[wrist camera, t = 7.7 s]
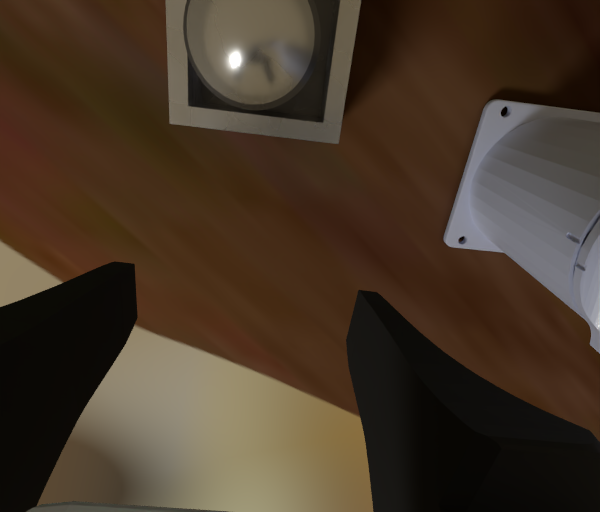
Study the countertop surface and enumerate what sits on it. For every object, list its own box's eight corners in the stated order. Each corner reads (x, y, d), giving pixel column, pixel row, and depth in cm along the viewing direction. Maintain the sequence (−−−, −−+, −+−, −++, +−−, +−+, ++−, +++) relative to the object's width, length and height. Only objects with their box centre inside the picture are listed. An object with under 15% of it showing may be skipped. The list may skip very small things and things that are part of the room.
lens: (318, 1, 15) (332, -41, 10) (305, 103, 17) (310, 119, 11) (221, -14, 15) (177, -67, 9) (218, 91, 17) (180, 101, 11)
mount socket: (354, -36, 16) (372, -68, 13) (329, 131, 19) (338, 143, 16) (192, -61, 16) (162, -101, 12) (193, 114, 19) (169, 123, 15)
